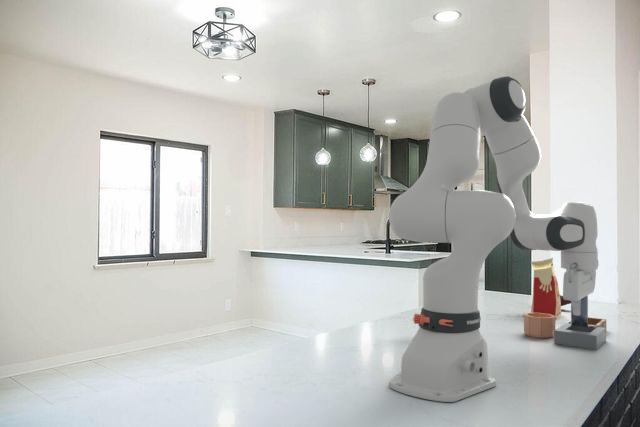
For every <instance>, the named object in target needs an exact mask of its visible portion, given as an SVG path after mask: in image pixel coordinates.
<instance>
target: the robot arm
mask: <svg viewBox="0 0 640 427" xmlns="http://www.w3.org/2000/svg"><path fill="white" fill-rule="evenodd" d="M526 106H527V98H526V92H525V90H524V88H523V86H522V85H521V83H520V82H519V80H517V79H515V78H513V77H511V76H502V77H498V78H494V79H493V80H491V81H488V82H485V83H482V84H480V85H477V86H475V87H473V88H468V90H466V91H463V92H460V91H458V92H451V93H448V94H446V95H444V96H443V97H442V98H441V99H440V100H439V101H438V103H437V105H436V108H435V110H434V114H433V117H432V118H433V119H432V122H431V127H430V128H431V129H430V136H429V145H428V152H427V158H426V163H425V166H424V168H423V171H422V172H421V174H420V175H419V178H418V179H417V180H416V181H415V182H414V184H413V185H411V187H409V188H408V189H407V190H406V191H404V192H403V193H401V194H399V195H398V196H397V197H395V199H394V200H393V201H392V203H391V205H390V208H389V213H388V221H389V225H390V228H391V230H392V232H393V234H395V235H396V237H397V238H398V239H403V240H407V241H411V242H415V243H416V242H417V243H438V244H439V243H443V244H445V243H446V244H448V243H449V244H452V250H451V252H450V254H449V255H448V256H446V257H443V258H441V259H439V260H436V261H435V262H433V263H431V264H430V265H428V266H427V268H426V269H425V271H424V273H423V277H422V282H423V283H422V286H423V288H422V289H423V290H422V292H423V293H422V294H423V295H422V297H423V300H422V301H423V302H422V303H423V305H422V306H423V307H421V310H420V313H414V314H413V317H412V321H413V323H414V324H415V325H416V324H417V325H418V326H419V327H418V329H417V331H416V333H415V335H414V336H413V338H412V339H411V340H410V343H409V345H408V346H407V347H406V349H405V350H404V352H403V355H402V358H401V363H400V364H401V366H400V371H399V372H398V373H397V374H396V375H395V376H394V377H393V378H391V379H390V380H389V381H388V387H389V388H391V389H392V390H394V391H396V392H398V393H401V394H405V395H407V396H411V397H415V398H420V399H424V400H429V401H433V402H434V401H435V402H442V403H443V402H444V403H445V402H446V403H455V402H457V401H460V400H462V399H466V398H468V397H470V396H473V395H475V394H478V393H481V392H484V391H487V390H489V389H491V388H494V387H496V386H497V384H496V383H497V381H496V380H495V378H493V377H491V376H490V372H489V371H490V369H489V358H488V357H489V356H488V344H487V341H486V340H485V339H484V337H483V336H482V334H481V332H480V328H481V321H482V320H481V317H482V316H481V312H480V310H479V309H478V306H479V305H478V304H479V302H478V301H479V298H478V296H479V295H478V294H479V281H480V274H481V270H482V267H483V265H484V262H485V261H486V259H487V257H488V256H489V254H490V253H491V252H492V251H493V249H495V248H496V247H497V246H498V245H499V244H500V243H502V242H503V241H504V240H506V239H508V237H509V236H510V238H511V241H512V244H514V245H515V246H516V247H517V248H518V249H520V250H523V251H550V252H551V251H553V252H560V269H564V270H565V271H564V272H563V279H562V280H563V282H562V284H563V285H562V296H563V298H564V300H569V301H571V303H570V305H571V304H572V308H573V315H577V316H579V315H581V304H580V303H581V299H582V298H584V297H586V296H588V297H589V296H590V295H591V294H593V293H594V291H595V287H596V274H597V270H598V269H599V259H598V258H599V257H598V254H599V251H598V250H599V249H598V248H597V238H598V219H597V212H596V210H595V208H594V206H593V205H592V204H590V203H586V202H579V201H567V202H564V203H563V204H562V206H561V208H559V209H557V210H556V211H553V212H552V213H550V214H535V213H533V212H532V211H531V210H530V208H529V205H528V201H527V199H526V198H527V197H526V194H525V191H524V188H523V182H524V180H525V179H526V177H528V176H530V175H531V174H532V173H533V172H534V171H535V170H536V169H537V168H538V166H539V164H540V162H541V158H542V153H541V148H540V146H539V142H538V140H537V138H536V136H535V134H534V131H533V130H532V129H533V128H531V126H530V124H529V122H528V120H527V119H526V117H525V116H524V113H525V111H526ZM482 133H484V136H485V140H486V143H487V145H488V149H489V150H490V153H491V155H492V157H493V159H494V163H495V166H496V172H495V180H496V184H497V188H498V192H497V191H496V192H495V191H492V190H490V191H489V190H483V189H477V190H476V189H475V190H473V189H472V190H467V189H466V190H455V188H456V187H458V186H460V185H461V184H463V183H465V182H467V181H469V180H470V179H472V178H473V177H474V176H475V175H476V173H477V172H478V170H479V168H480V158H481V138H482Z"/></svg>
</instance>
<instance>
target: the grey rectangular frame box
mask: <svg viewBox="0 0 640 427" xmlns="http://www.w3.org/2000/svg"><path fill="white" fill-rule="evenodd" d="M553 338H554V340H553V341H554V342H553V343H556V345H561V344H562V346H563V345H564V346H568V347H569V346H570V347H575V348H576V347H577V348H582V349H583V348H584V349H589V350H598V349H599V348H600V347H601V346H603V344H605V342H607V327H606V328H602V327H597V326H594V325H588V326H587V327H578V326H573V325H571V324H569V322H565V323H563V324H562V325H560V326H559V327H557V328H555V330H554V337H553Z"/></svg>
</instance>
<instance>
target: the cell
mask: <svg viewBox="0 0 640 427" xmlns="http://www.w3.org/2000/svg"><path fill="white" fill-rule="evenodd" d="M588 302H589V295H588V296H586V297H584V298H582V299H581V303H580V304H581V315H579V316H577V315H573V308H572V304H571V303H570V321H571V325H573V326H578V327H587V326H588V317H589V303H588Z"/></svg>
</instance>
